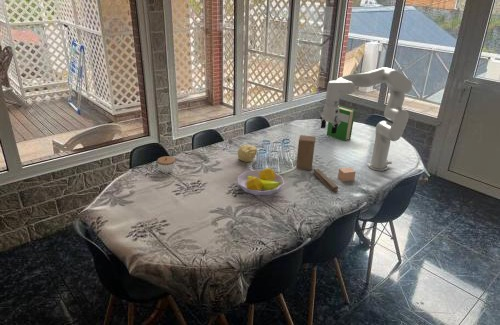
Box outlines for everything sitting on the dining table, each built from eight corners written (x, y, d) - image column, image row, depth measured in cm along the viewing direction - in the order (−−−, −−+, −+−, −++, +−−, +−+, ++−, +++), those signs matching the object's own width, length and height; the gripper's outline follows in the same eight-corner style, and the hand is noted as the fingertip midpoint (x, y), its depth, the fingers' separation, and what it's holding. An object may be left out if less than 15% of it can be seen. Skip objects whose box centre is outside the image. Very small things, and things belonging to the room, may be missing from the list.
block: (348, 175, 229) (350, 167, 227) (354, 180, 224) (355, 171, 222) (337, 177, 227) (339, 168, 225) (342, 181, 222) (344, 172, 219)
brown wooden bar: (318, 173, 231) (318, 168, 230) (337, 191, 211) (338, 186, 209) (313, 173, 230) (314, 169, 229) (332, 191, 210) (333, 187, 208)
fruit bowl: (230, 182, 215) (230, 165, 210) (271, 175, 225) (272, 159, 220) (248, 206, 192) (249, 187, 187) (293, 197, 202) (295, 179, 197)
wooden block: (311, 170, 234) (315, 141, 226) (295, 168, 236) (298, 139, 227) (312, 164, 243) (315, 136, 234) (297, 162, 245) (300, 134, 236)
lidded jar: (179, 171, 226) (178, 157, 222) (164, 176, 218) (163, 162, 214) (169, 165, 232) (168, 152, 228) (154, 170, 225) (153, 157, 221)
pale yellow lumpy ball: (245, 165, 237) (246, 150, 233) (234, 159, 245) (234, 144, 241) (258, 160, 244) (259, 146, 240) (247, 155, 252) (247, 140, 248)
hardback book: (350, 139, 288) (355, 109, 278) (345, 141, 284) (349, 111, 274) (332, 133, 300) (336, 104, 290) (326, 134, 295) (330, 106, 285)
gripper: (347, 105, 205) (342, 134, 212) (327, 98, 219) (323, 125, 226) (337, 107, 202) (333, 136, 209) (317, 99, 215) (314, 126, 222)
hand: (328, 130), depth 217 cm, fingers open, 9 cm apart
